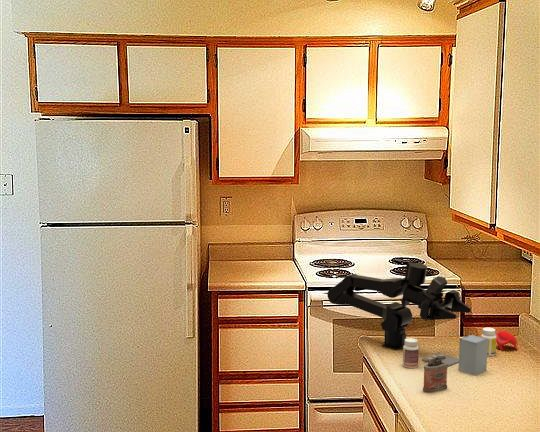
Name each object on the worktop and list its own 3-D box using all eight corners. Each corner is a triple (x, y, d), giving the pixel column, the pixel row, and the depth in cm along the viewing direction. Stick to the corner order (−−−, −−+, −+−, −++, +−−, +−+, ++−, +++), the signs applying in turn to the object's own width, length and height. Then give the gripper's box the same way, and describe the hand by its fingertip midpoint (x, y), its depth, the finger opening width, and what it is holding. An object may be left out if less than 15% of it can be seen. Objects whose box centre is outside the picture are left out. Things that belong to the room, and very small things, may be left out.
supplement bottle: (494, 351, 232) (495, 327, 231) (497, 356, 228) (498, 331, 226) (479, 351, 233) (480, 326, 232) (482, 356, 228) (483, 331, 227)
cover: (458, 369, 216) (459, 338, 215) (469, 365, 220) (470, 334, 219) (475, 375, 212) (476, 343, 210) (486, 370, 216) (487, 339, 214)
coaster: (421, 360, 224) (421, 358, 224) (438, 353, 230) (438, 352, 230) (445, 368, 218) (445, 366, 218) (462, 361, 224) (462, 359, 224)
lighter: (427, 393, 198) (429, 360, 197) (420, 389, 201) (421, 356, 199) (449, 388, 202) (451, 355, 200) (441, 384, 205) (443, 351, 203)
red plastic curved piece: (493, 342, 232) (510, 334, 230) (491, 331, 237) (507, 323, 235) (505, 358, 235) (522, 351, 233) (502, 347, 240) (518, 340, 238)
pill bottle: (421, 367, 218) (422, 341, 217) (407, 369, 217) (408, 343, 216) (413, 362, 223) (413, 336, 222) (399, 364, 221) (400, 338, 220)
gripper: (409, 279, 220) (453, 295, 210) (439, 269, 233) (482, 284, 223) (403, 312, 223) (446, 329, 213) (434, 300, 236) (476, 316, 226)
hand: (463, 313), depth 219 cm, fingers open, 9 cm apart
